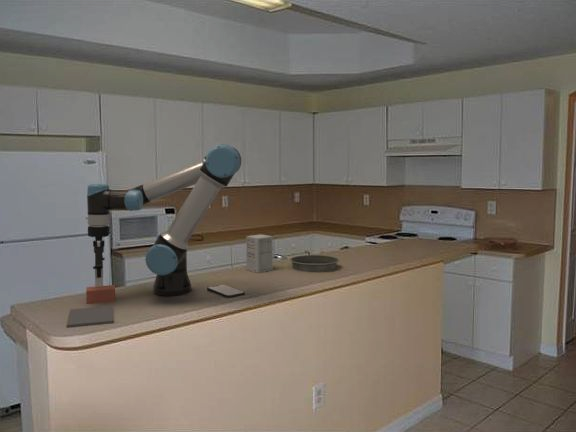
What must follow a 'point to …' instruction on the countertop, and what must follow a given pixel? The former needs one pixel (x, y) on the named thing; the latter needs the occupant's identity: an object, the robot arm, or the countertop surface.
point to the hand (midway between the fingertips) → (99, 281)
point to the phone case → (225, 291)
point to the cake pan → (314, 263)
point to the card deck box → (100, 294)
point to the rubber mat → (90, 316)
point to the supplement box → (259, 253)
